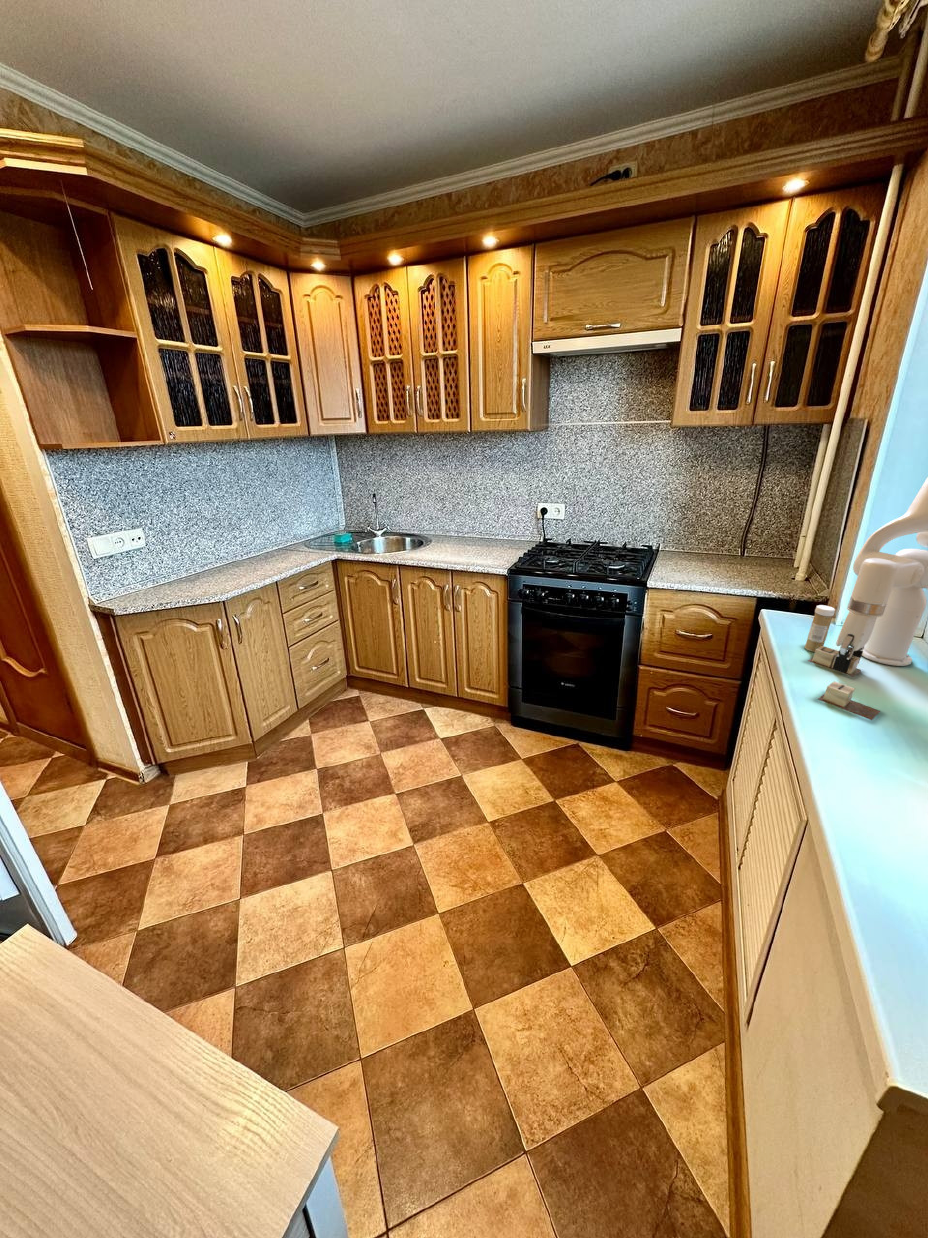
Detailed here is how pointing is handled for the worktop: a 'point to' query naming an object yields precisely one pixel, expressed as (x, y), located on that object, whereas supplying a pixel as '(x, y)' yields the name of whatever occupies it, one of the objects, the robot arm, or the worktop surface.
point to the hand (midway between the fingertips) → (845, 666)
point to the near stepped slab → (846, 700)
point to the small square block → (851, 664)
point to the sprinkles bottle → (819, 627)
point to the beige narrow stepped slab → (828, 659)
